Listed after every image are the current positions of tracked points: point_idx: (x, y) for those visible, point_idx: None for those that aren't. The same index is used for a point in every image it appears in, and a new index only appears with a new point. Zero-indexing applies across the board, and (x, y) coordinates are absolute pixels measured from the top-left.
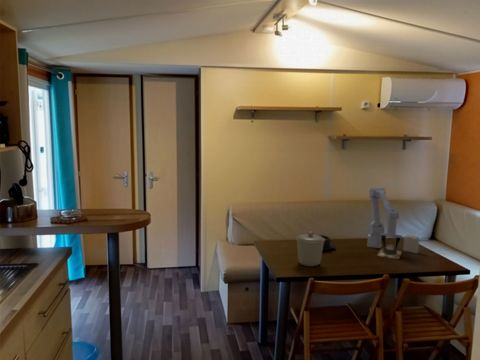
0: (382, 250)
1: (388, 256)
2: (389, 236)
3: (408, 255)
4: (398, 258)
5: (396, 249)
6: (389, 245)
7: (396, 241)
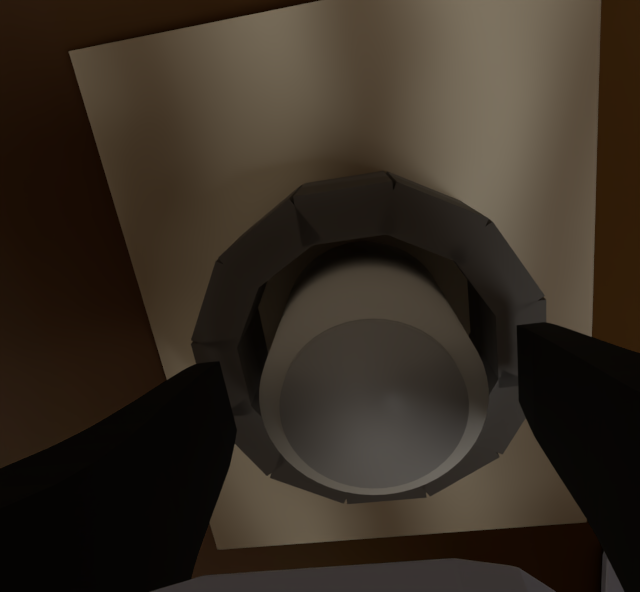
0: None
1: (306, 3)
2: (445, 562)
3: None
4: (87, 53)
5: None
6: (391, 389)
7: (54, 476)
